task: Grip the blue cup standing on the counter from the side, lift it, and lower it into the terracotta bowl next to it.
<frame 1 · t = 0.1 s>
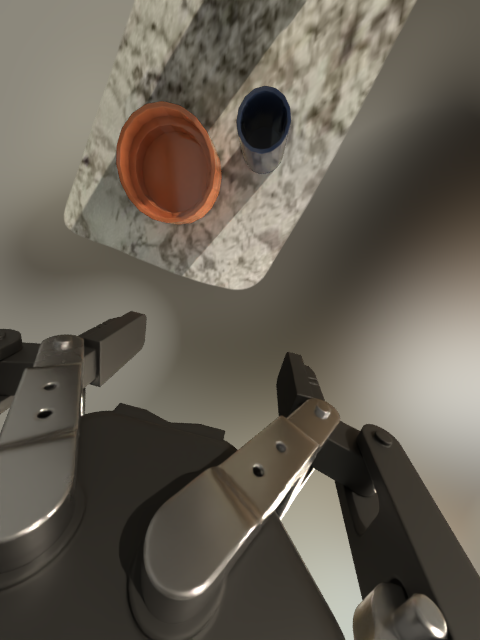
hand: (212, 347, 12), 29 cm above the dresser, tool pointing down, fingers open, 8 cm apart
bowl: (178, 176, 36), on the dresser
blue cup: (263, 150, 33), on the dresser
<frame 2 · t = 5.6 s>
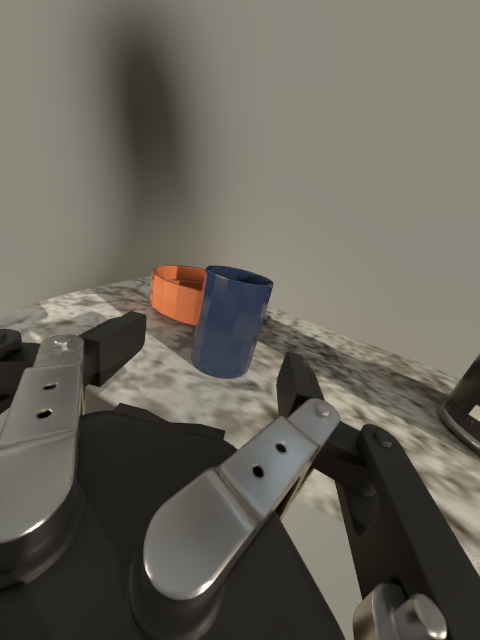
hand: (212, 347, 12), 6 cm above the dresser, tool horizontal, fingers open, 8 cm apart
bowl: (198, 309, 35), on the dresser
blue cup: (220, 360, 23), on the dresser
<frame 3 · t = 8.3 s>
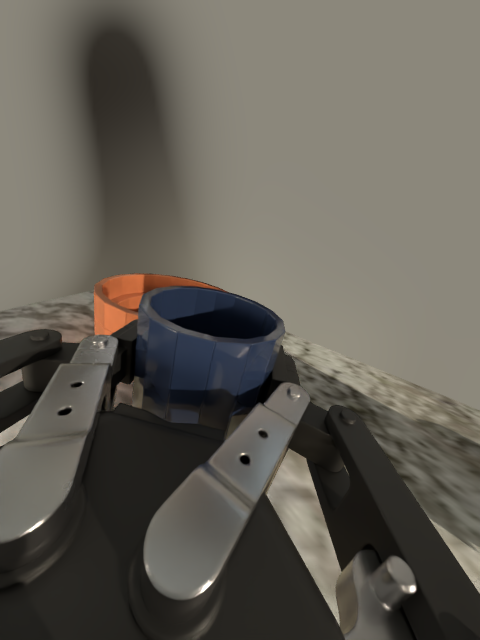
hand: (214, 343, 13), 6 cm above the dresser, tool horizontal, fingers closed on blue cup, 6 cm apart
bowl: (171, 336, 25), on the dresser
blue cup: (187, 452, 13), on the dresser, touching gripper
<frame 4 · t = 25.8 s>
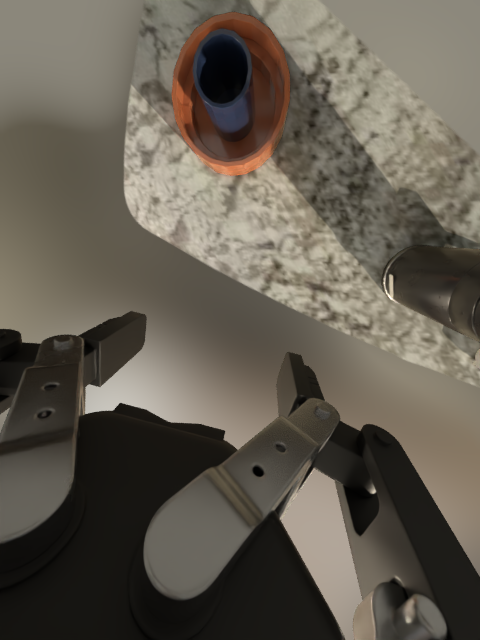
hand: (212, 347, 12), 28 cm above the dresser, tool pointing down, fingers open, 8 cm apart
bowl: (234, 117, 31), on the dresser
blue cup: (233, 115, 31), point 1 cm above the dresser, touching bowl
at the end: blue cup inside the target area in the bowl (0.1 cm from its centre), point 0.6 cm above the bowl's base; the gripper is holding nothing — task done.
